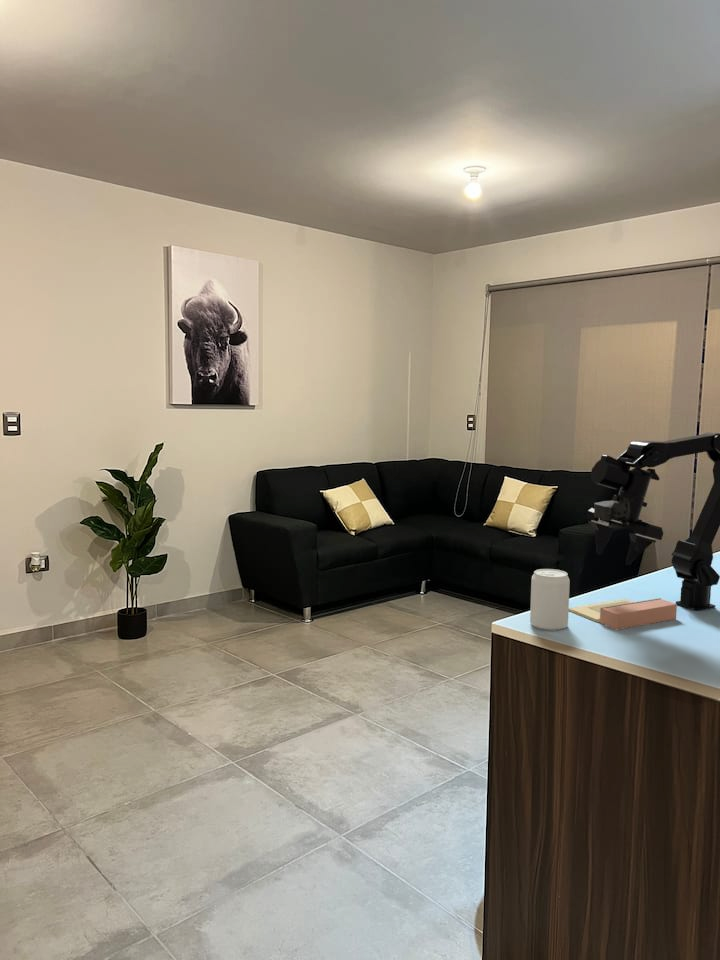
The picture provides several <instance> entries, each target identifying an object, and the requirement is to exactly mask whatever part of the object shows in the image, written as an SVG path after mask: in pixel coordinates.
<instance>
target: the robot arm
mask: <svg viewBox="0 0 720 960" xmlns="http://www.w3.org/2000/svg"><path fill="white" fill-rule="evenodd" d="M705 452H706V455H707V457H708V458H709V459H710V460H711V461H712V462H713V466H712V474H713V475H712V476H713V484H712V485H711V486H712V487H711V489H710V491H709V493H708V496H707V498H706V500H705V502H704V505H703V507H702V509H701V511H700V514H699V516H698V519H697V521H696V523H695V525H694V527H693V530H692V532H691V534H690V536H689V537H688V538H687V539H685V540H681V539H679V540H677V542H676V545H675V548H674V550H673V552H671V556H672V558H671V565H672V568H673V570H674V571H675V574H676V577H677V578H679V579H683V580H682V582H681V588H680V600H677V601H675V604H677V606H678V605H679V606H682V607H685V608H687V609H692V610H694V611H703V610H708V609H713V608H714V609H715V608H716V605H715V604H712V603H711V596H712V595H711V594H712V593H711V592H712V590H711V589H712V587H713V586H717V585H718V583H719V580H720V574H719V573H718V572H717V571H716V570H715V569H714V567H712V564H713V559H714V552H713V542H714V540H715V538H716V535H717V533H718V531H719V528H720V433H719V432H718V433H716V432H705V433H703V434H698V435H697V434H696V435H692V436H691V435H690V436H686V437H680V438H675V439H670V440H663V441H660V440H633V441H632V442H630V443H629V445H628V447H627V449H626V450H625V451H624V452H622V453H621V454H620V455H619V456H618V457H616V458H614V457H613V456H610V455H606V454H602V455H601V457H600V459H599V460H597V461H596V462H595V463H594V466H593V467H592V469H591V471H590V480H591V481H592V483H594V484H596V485H600V486H603V487H606V488H609V489H613V490H619V491H618V494H616V493H615V494H614V495H612V498H611V500H602V501H599V502H594V508H593V507H591V508H590V509H588V510H587V512H586V515H585V519H588V523H589V524H590V525H591V526H592V528H593V530H594V535H595V546H596V547H595V548H596V549H595V550H596V554H597V555H602V554H603V552H604V550H605V548H606V547H607V544H608V542H609V540H610V539H611V538H610V537H611V535H612V534H613V531H614V529H615V528H614V527H613V525H615V526H617V527H621V528H625V529H629V530H631V531H632V533H628V535H629V538H630V544H629V547H628V552H627V555H626V559H625V565H628V566H630V565H632V563H633V562H634V561H635V560H636V559H637V558H638V557H639V556H640V555H641V554H642V553H643V552H644V551H645V550H646V549H647V548H648V547H649V546H650V545H652V544H653V543H655V544H656V543H657V540H659V541H662V539H663V536H664V530H663V528H662V527H661V526H659V525H654V524H651V523H648V522H643V520H642V519H640V516H641V512H642V509H643V508H644V507H645V508H647V507H648V502H646V501H645V498H646V495H647V493H648V492H647V491H648V488H649V485H650V482H651V480H653V481H660V476H659V475H658V473H657V472H656V469H655V467H658V466H660V465H663V464H665V463H667V462H668V461H670V460H672V459H674V458H679V457H684V456H691V455H696V454H701V453H705ZM631 468H632V469H631ZM644 468H647V469H644Z"/></svg>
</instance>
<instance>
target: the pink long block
mask: <svg viewBox="0 0 720 960" xmlns="http://www.w3.org/2000/svg"><path fill="white" fill-rule="evenodd" d="M633 602H634V603H628V604H621V605H615V606H609V607H603V608H600V623H601V625H603V624H604V625H603V626H605V625H607V626H606V627H608V626H609V627H608V628H610V627H611V629H613V628H614V629H613V630H615V629H619V630H623V629H622V628H624V629H628V628H627V627H630V628H635V627H639V626H640V625H641V626H645V625H651V624H650V623H652V624H656V622H657V623H662V622H661V621H663V622H668V621H667V620H669V621H672V620H673V619H674V620H677V611H678V609H677V608H678V604H676V602H671V601H668V600H665V599H662V598H660V597H659V598H653V599H647V600H646V599H645V600H641V601H636V602H635V601H633ZM600 623H599V624H600ZM634 626H635V627H634Z"/></svg>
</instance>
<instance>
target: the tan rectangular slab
mask: <svg viewBox="0 0 720 960" xmlns="http://www.w3.org/2000/svg"><path fill="white" fill-rule="evenodd" d="M634 602H635V601H632V600H630V599H626V598H625V599H624V598H623V599H616V600H612V601H604V602H598V603H592V604H585V605H578V606H572V607H569V611H568V612H571V613H573V614H576V615H578V616H580V617H583V618H585V619H588V620H590V619H591V621H593V622H595V621H596V622H595V623H598V622H600V608H603V607H609V606H615V605H621V604H628V603H634Z"/></svg>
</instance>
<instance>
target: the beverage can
mask: <svg viewBox="0 0 720 960" xmlns="http://www.w3.org/2000/svg"><path fill="white" fill-rule="evenodd" d="M568 575H569V574H568V572H566V571H564V570H560V569H554V568H539V569H536V570H534V571H533V574H532V576H531V583H530V584H531V585H530V609H529V610H530V615H529V616H530V617H529V622H530V624H531V625H532V626H534V627H535V628H538V629H540V630H543V629H544V631H559V630H562V629H566V628H567V627H568V625H569V612H570V611H569V608H570V604H569V603H570V585H571V584H570V581H571V580H570V578H569V576H568Z"/></svg>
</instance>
